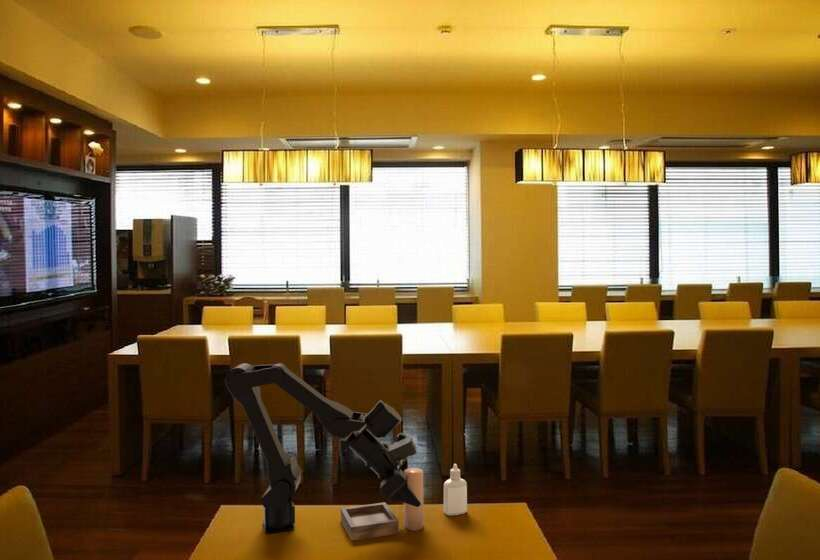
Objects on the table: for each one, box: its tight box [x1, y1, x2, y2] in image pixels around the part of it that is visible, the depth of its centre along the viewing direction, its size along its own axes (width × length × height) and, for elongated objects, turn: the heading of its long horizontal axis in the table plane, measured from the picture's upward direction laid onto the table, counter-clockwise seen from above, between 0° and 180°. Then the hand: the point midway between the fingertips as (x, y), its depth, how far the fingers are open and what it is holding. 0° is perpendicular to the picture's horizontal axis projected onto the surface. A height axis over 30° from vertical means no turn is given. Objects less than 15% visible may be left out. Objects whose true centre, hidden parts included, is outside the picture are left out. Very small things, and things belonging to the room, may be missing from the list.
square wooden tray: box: [340, 501, 400, 541], centre depth 147 cm, size 11×11×3 cm
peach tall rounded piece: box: [403, 467, 424, 531], centre depth 147 cm, size 4×4×13 cm
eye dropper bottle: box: [443, 463, 468, 517], centre depth 155 cm, size 4×6×12 cm
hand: (419, 497), depth 147 cm, fingers open, 9 cm apart
